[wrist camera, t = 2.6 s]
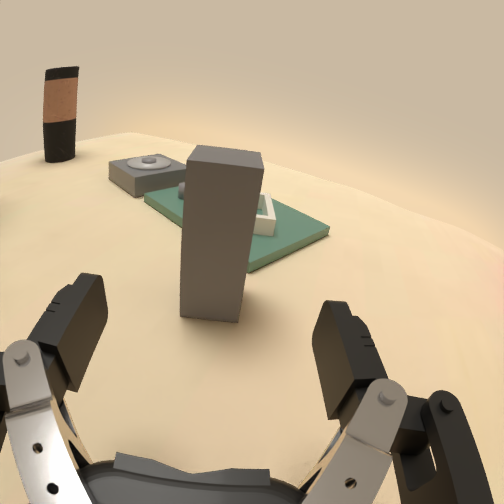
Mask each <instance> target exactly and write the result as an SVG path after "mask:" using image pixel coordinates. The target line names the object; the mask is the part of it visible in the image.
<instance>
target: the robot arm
mask: <svg viewBox="0 0 504 504" xmlns="http://www.w3.org/2000/svg"><path fill="white" fill-rule="evenodd" d="M107 318H108V306H107V301H106V295H105V289H104V283H103V278H102V276H101V275H95V274H88V273H81V274H80V275H79V276H78V278H77V279H76V281H75V282H74V283H73V285H70V284H68V285H67V286H65V287H64V288H62V289H61V290H60V291H58V292H57V294H56V295H55V297H54V298H53V300H52V301H51V303H50V304H49V305H48V307H47V308H46V311H44V313H43V315H42V316H41V318H40V319H39V321H38V322H37V324H36V325H35V327H34V329H33V330H32V332H31V333H30V335H29V337H28V338H27V340H19V341H16V342H14V343H12V344H11V345H10V346H9V347H8V348H7V349H6V350H5V352H0V452H1V449H2V445H3V442H4V439H5V436H6V433H7V431H8V435H9V439H10V443H11V447H12V451H13V454H14V458H15V461H16V464H17V468H18V471H19V474H20V477H21V480H22V483H23V486H24V489H25V491H26V494H27V497H28V499H29V502H30V503H29V504H372V503H373V501H374V499H375V497H376V495H377V493H378V491H379V489H380V486H381V484H382V482H383V480H384V478H385V476H386V474H387V471H388V469H389V467H390V464H391V462H392V459H393V464H394V469H395V474H396V479H397V484H398V489H399V494H400V500H401V504H494V502H493V498H492V494H491V491H490V487H489V483H488V480H487V477H486V473H485V470H484V467H483V464H482V461H481V458H480V455H479V452H478V449H477V446H476V443H475V440H474V437H473V435H472V432H471V429H470V427H469V424H468V421H467V419H466V416H465V414H464V411H463V409H462V406H461V404H460V402H459V400H458V399H457V398H456V397H455V396H454V395H453V394H451V393H450V392H448V391H444V390H439V391H436V392H434V393H433V394H432V395H431V396H430V397H429V398H428V399H424V398H418V397H413V396H409V395H407V394H406V392H405V390H404V389H403V387H402V386H401V385H399V384H398V383H397V382H395V381H393V380H390V379H388V376H387V374H386V371H385V369H384V366H383V364H382V361H381V359H380V356H379V354H378V351H377V349H376V347H375V344H374V342H373V339H371V335H370V332H369V330H368V328H367V325H366V324H365V323H364V322H363V321H362V320H361V319H360V318H359V317H358V316H352V314H351V311H350V309H349V306H348V304H347V303H346V302H344V301H329V300H326V301H325V302H324V303H323V306H322V308H321V311H320V314H319V317H318V320H317V322H316V325H315V328H314V331H313V335H312V347H313V352H314V356H315V361H316V365H317V370H318V374H319V379H320V384H321V388H322V393H323V398H324V402H325V407H326V412H327V417H328V420H334V419H339V421H340V425H341V426H340V427H339V428H338V430H337V432H336V433H335V435H334V437H333V438H332V440H331V441H330V443H329V445H328V446H327V448H326V449H325V451H324V452H323V454H322V455H321V457H320V459H319V460H318V462H317V463H316V465H315V466H314V467H313V469H312V470H311V471H310V473H309V474H308V475H307V476H306V478H305V479H304V480H303V481H302V483H301V484H300V485H299V487H298V488H296V487H295V486H293V485H291V484H289V483H286V482H284V481H281V480H278V479H275V478H271V477H270V472H269V469H234V468H231V469H225V470H218V471H211V472H204V473H196V474H191V473H186V472H183V471H181V470H178V469H175V468H173V467H170V466H167V465H165V464H162V463H160V462H157V461H155V460H152V459H147V458H142V457H137V456H132V455H127V454H123V453H118V452H116V456H115V460H108V461H101V462H96V463H93V462H92V460H91V458H90V456H89V455H88V453H87V451H86V449H85V448H84V446H83V444H82V442H81V440H80V437H79V435H78V433H77V430H76V428H75V425H74V423H73V420H72V417H71V415H70V412H69V409H68V407H67V404H66V401H65V399H64V395H65V392H66V390H70V391H74V392H78V389H79V387H80V384H81V382H82V379H83V377H84V374H85V372H86V369H87V367H88V364H89V362H90V360H91V357H92V355H93V352H94V350H95V348H96V345H97V343H98V341H99V339H100V336H101V334H102V332H103V330H104V327H105V325H106V322H107ZM430 446H431V449H432V452H433V456H434V460H435V463H436V470H435V466H434V462H433V459H432V455H431V452H430V448H429V447H430ZM389 452H391V454H389Z"/></svg>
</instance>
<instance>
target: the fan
mask: <svg viewBox="0 0 504 504" xmlns="http://www.w3.org/2000/svg"><path fill="white" fill-rule="evenodd" d="M185 175H186V165H185V164H182V163H180V162H178V161H175V160H173V159H171V158H168V157H166V156H164V155H161V154H155V155H148V156H141V157H135V158H128V159H122V160H116V161H110V162H109V179H110V180H111V181H112V182H114V183H115V184H117V185H118V186H119V187H121V188H122V189H123V190H125V191H126V192H128V193H129V194H130V195H132V196H133V197H134V198H135V197H140V196H144V193H148V192H153V191H158V190H163V189H167V188H172V187H177V186H179V183H182V182H185Z"/></svg>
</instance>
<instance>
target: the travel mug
mask: <svg viewBox="0 0 504 504" xmlns="http://www.w3.org/2000/svg"><path fill="white" fill-rule="evenodd" d="M78 71H79V67H77V66H74V67H61V68H53V69H48V70H46V73H45V85H44V104H43V134H44V151H45V161H46V162H51V163H54V162H62V161H67V160H70V159H72V158H74V157H75V134H76V133H75V132H76V106H77V105H76V104H77V86H78Z"/></svg>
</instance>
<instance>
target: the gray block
mask: <svg viewBox="0 0 504 504" xmlns="http://www.w3.org/2000/svg"><path fill="white" fill-rule="evenodd" d="M263 174H264V166H263V162H262V158H261V153H260V152H253V151H246V150H238V149H230V148H222V147H213V146H203V145H197V146H196V148H195V149H194V150H193V152H192V153H191V155H190V156H189V157H188V159H187V163H186V175H185V188H184V203H183V220H182V241H181V270H180V316H182V317H190V318H198V319H207V320H216V321H225V322H235V323H238V319H239V313H240V307H241V301H242V296H243V290H244V284H245V278H246V272H247V266H248V261H249V255H250V249H251V243H252V237H253V232H254V226H255V220H256V214H257V208H258V203H259V197H260V191H261V185H262V179H263Z"/></svg>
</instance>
